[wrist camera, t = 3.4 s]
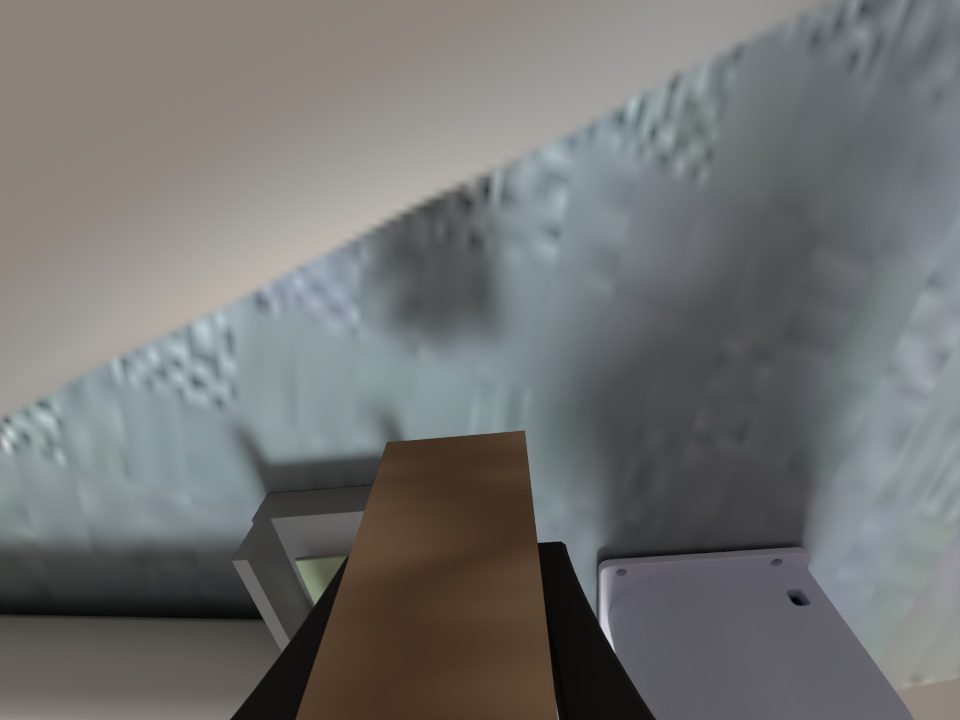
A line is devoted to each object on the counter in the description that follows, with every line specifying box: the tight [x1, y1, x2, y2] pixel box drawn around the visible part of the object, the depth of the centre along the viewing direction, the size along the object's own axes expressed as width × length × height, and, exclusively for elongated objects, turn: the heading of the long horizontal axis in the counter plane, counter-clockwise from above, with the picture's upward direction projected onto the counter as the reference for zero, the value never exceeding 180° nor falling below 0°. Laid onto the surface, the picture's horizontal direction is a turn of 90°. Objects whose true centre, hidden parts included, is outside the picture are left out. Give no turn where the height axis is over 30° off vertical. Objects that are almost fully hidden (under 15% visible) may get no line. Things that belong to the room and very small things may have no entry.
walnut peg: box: [296, 431, 558, 720], centre depth 10 cm, size 4×4×8 cm
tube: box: [0, 614, 282, 720], centre depth 22 cm, size 5×5×25 cm
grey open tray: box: [232, 485, 373, 652], centre depth 21 cm, size 12×7×4 cm, turn 7°
